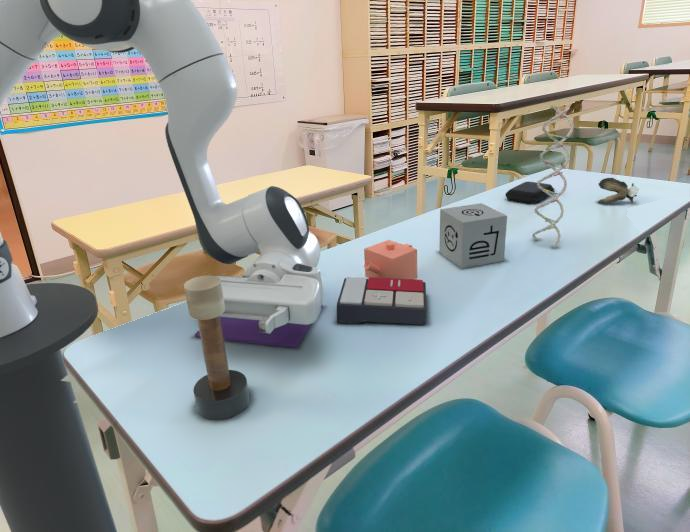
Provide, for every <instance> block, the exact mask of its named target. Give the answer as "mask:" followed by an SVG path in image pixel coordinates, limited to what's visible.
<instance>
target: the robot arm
mask: <svg viewBox="0 0 690 532" xmlns="http://www.w3.org/2000/svg"><path fill="white" fill-rule="evenodd" d="M60 36H64V37H66V38H67V39H69V40H71V41H73V42H76V43H78V44H80V45H83V46H85V47H87V48H89V49H92V50H96V51H102V52H103V51H105V52H110V53H115V54H116V53H117V54H120V53H121V54H122V53H126V52H130V51H133V50H137V51H138V52H139V53H140V54H141V55H142V57H143V58H144V59H145V62H147V64H148V66H149V67H150V69H151V71H152V73H153V75H154V77H155V79H156V81H157V83H158V84H159V86H160V89H161V91H162V94H163V97H164V100H165V104H166V109H167V119H168V120H167V123H166V124H165V128H164V132H165V139H166V143H167V148H168V150H169V153H170V156H171V158H172V162H173V164H174V167H175V170H176V172H177V175H178V177H179V181H180V183H181V186H182V188H183V191H184V194H185V196H186V197H185V198H186V199H187V203H188V204H189V207H190V210H191V213H192V215H193V218H194V222H195V227H196V232H197V238H198V241H199V244H200V246H201V248H202V250H203V252H204V253H206V254H207V255H208V256H209V257H210V258H212V259H213V260H215V261H217V262H218V263H221V264H225V265H232V264H234V263H235V264H236V263H237V262H239V261H241V260H243V259H245V258H247V257H249V256H251V255H253V254H257V253H260V254H259V256H258V257H257V258H256V259H255V260H254V261H253V262H252V263H251V264H250V265H249V266H248V267H246V269H245V270H244V271H243V274H242V276H228V275H215V276H216V277H219V278H220V280H221V285H222V291H223V297H224V303H225V311H224V313H223V314H221V315H220V317H229V318H240V319H250V320H260V321H259V327H260V329H259V331H260V332H262V333H271V332H272V331H273V330H274V328H277V327H280V326H282V325H285V324H287V323H293V324H303V325H308V324H311V323H312V324H313V323H315V322H316V321H318V319H319V316H320V314H321V311H322V309H321V305H322V306H323V297H324V296H323V282H322V281H323V280H322V274H321V270H320V269H319V268H318V265H319V261H320V259H321V246H320V242H319V240H318V238H317V237H316V235H315V234H314V233H312V231H310V227H309V226H310V225H309V222H308V219H307V215H306V212H305V210H304V209H303V207H302V204H301V203H300V202H299V201H298V199H297V198H296V197H295V196H293V195H292V194H291V193H289V192H288V191H287V190H285V189H283V188H281V187H280V186H279V187H278V186H275V185H271V186H268V187H266V188H263V189H261V190H258V191H256V192H255V191H254V192H253V193H251V194H248V195H247V196H244V197H242V198H240V199H236V200H235V201H232V202H229V203H225V202H224V201H222V199H221V195H220V192H219V191H218V187H217V185H216V182H215V179H214V178H215V177H214V176H213V173H212V171H211V167H210V165H209V161H208V148H209V145H210V143H211V141H212V139H213V138H214V136H215V135H216V133H217V132H218V131H219V130H220V128H221V127H222V126H223V125H224V124H225V123H226V121H227V120H228V119H229V117H230V116H231V114H232V112H233V110H234V108H235V106H236V102H237V97H238V85H237V80H236V77H235V75H234V72H233V71H232V68H231V66H230V63H229V62H228V59H227V57H226V55H225V53H224V51H223V49H222V47H221V45H220V43H219V42H218V39H217V38H216V37H215V34H214V32H213V31H212V29H211V27H210V26H209V25H208V23H207V21H206V19H205V18H204V16H203V15H202V13H201V12H200V10H199V9H198V8H197V7H196V5H195V4H194V2H193V1H192V0H0V108H1V107H2V105H3V103H4V102H5V100H6V99H7V98H8V96H9V94H10V93H11V92H12V90H13V89H14V88H15V87H16V85H18V83H20V80H22V78H23V77H24V76H25V75H26V73H27V72H28V70H29V69H30V68H31V66H33V64H34V63H35V62H36V60H37V59H38V58H39V57H40V55H41V54H42V53H43V52H44V50H45V49H46V48H47V47H48V45H49V44H50V43H51V42H52V41H54V39H56V38H58V37H60ZM11 253H12V252H11V248H10V247H9V244H8V242H7V241H6V240H5V239H3V236H2V231H0V338H1V337H4V336H6V335H9V334H11V333H13V332H15V331H18V330H19V329H21V328H23V327H25V326H26V325H28V324H29V323H30V322H32V321H33V320H34V319H35V318H36V316H37V314H38V310H37V309H36V307H35V305H36V303H37V300H36V298H35V296H31V295H30V293H29V291H28V289H27V286H26V285H27V284H26V282H25V279H24V278H23V275H22V273H21V271H20V269H19V267H18V266H17V265H16V264H14V263H13V259H14V258H13V255H12V254H11ZM196 323H197V324H198V322H197V321H196ZM312 324H311V325H312Z"/></svg>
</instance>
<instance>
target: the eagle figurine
mask: <svg viewBox="0 0 690 532" xmlns="http://www.w3.org/2000/svg"><path fill="white" fill-rule="evenodd" d="M597 184H598V187H599V188H600V189H602V190H605V191H608V192H614V193H615V194H611V195H607V196H606V197H605V198H602V199H599V200H598V201H597V203H598V204H601V205H608V204H612V203H615V202H619V201H624V200H626V198H627V199H628V200H629V201H630V203H632V204H633V203H634V197H638V195H637V194H638V192H639V190H640V189H639V188H638V186H636V185H635V184H634V182H632V183H631V187H628V184H627V183H626V182H625V181H622V180H619V179H617V178H614V177H605V178H602V179H600V180H599V182H598V183H597Z"/></svg>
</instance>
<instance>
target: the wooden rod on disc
mask: <svg viewBox="0 0 690 532" xmlns="http://www.w3.org/2000/svg"><path fill="white" fill-rule="evenodd" d="M216 276H217V275H200V276H196V277H192V278H191V279H190V278H189V279H188V280H186V281H185V282H184V284H183V288H184V295H185V299H186V305H187V310H188V315H189V317H190V318H191V319H192V320H196V323H197V322H198V323H197V328H198V331H199V333H200V338H199V339H200V344H201V348H202V354H203V360H204V365H205V370H206V374H205V375H203V376H201V378H200V379H198V380H197V381H196V382H195V384H194V386H193V391H192V392H193V397H194V402H195V406H196V411H197V413H198V414H199V415H200V416H201V417H202V418H204V419H207V420H211V421H222V420H227V419H230V418H233V417H235V416H237V415H239V414H240V413H242V412H243V411H245V410H246V408H247V407H248V405H249V403H250V391H249V385H248V379H247V377H246V375H245V374H243V373H242V372H241V371H238V370H236V369H235V370H234V369H229V363H228V357H227V349H226V344H225V340H224V338H223V332H222V326H221V320H220V315H221V314H223V313H224V311H225V303H224V297H223V291H222V285H221V280H220V278H219V277H216Z"/></svg>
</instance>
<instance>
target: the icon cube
mask: <svg viewBox="0 0 690 532" xmlns="http://www.w3.org/2000/svg"><path fill="white" fill-rule="evenodd" d="M507 224H508V215H506V214H504V213H502V212H501V211H499V210H496V209H495V208H492V207H490V206H489V205H486V204H484V203H483V202H480V203H472V204H466V205H459V206H452V207H446V208H440V209H439V243H438V246H439V251H438V253H440V254H441V255H442V256H444V257H445V258H446V259H448V260H449V261H451V262H452V263H453V264H454V265H456V266H457V267H459V268H460V269H461V270H462V269H467V268H472V267H478V266H483V265H484V266H485V265H488V264H495V263H500V262H504V261H505V252H506V251H505V250H506V237H507Z"/></svg>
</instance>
